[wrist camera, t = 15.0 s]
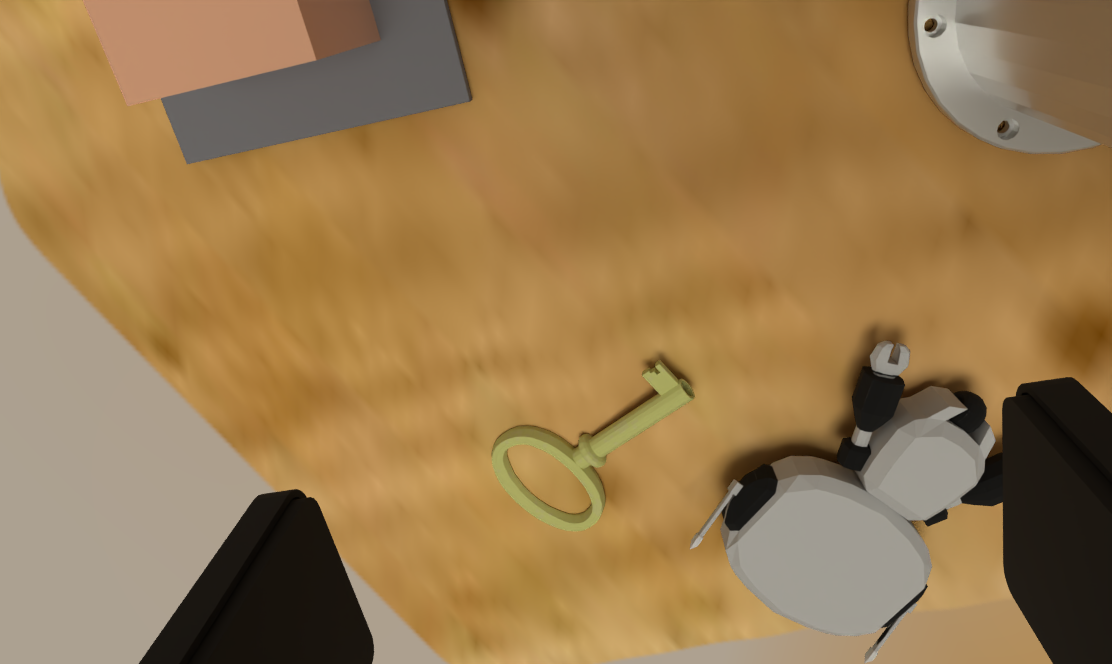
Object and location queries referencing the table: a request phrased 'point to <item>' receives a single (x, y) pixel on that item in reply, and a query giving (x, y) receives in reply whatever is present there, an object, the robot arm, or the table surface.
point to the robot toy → (861, 506)
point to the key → (587, 450)
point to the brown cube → (220, 39)
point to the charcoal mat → (330, 87)
